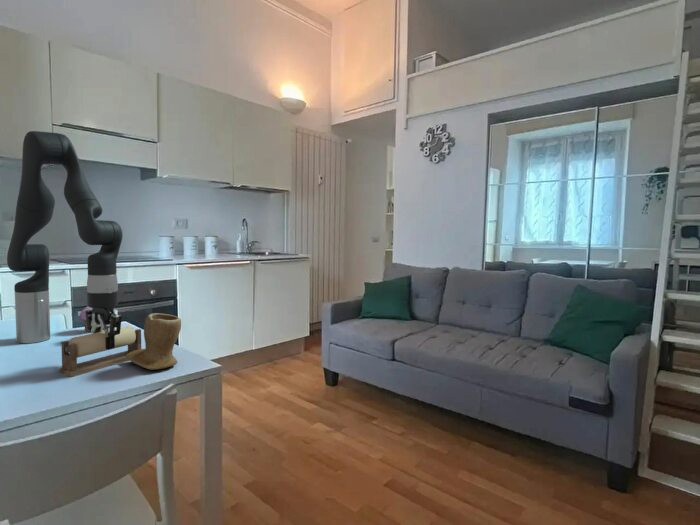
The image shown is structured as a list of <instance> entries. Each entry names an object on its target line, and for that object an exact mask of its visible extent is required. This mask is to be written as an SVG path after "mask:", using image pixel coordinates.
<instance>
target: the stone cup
mask: <svg viewBox="0 0 700 525" xmlns="http://www.w3.org/2000/svg"><path fill="white" fill-rule="evenodd" d="M143 325H144V326H143V327H144V328H143V338H144V343H145V348H141V349H139V350H135V351H132V352H130V353H128V354H127V355H126V358H127V359H129V361H130V362H132V363H133V364H135V365H137V366H140V367H141V368H143V369H144V368H145V369H146V370H162V369H166V368H170V367H173V366H175V365H177V364H178V359H177V358H176V357H175V356H174V355H173V350H174V347H175V343H176V342H177V339H178V337H179V335H180V333H181V329H182V319H181V318H180V317H179V316H176V315H173V314H167V313H158V312H155V313H149V314H148V315H147V316H146V317H145V320H144V324H143Z"/></svg>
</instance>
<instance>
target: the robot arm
mask: <svg viewBox="0 0 700 525" xmlns="http://www.w3.org/2000/svg"><path fill="white" fill-rule="evenodd" d="M21 160H22V161H21V164H22V165H21V177H20V178H21V179H20V184H19V191H18V196H17V200H16V201H17V202H16V207H15V217H14V225H13V231H12V235H11V239H10V243H9V246H8V249H7V253H6V254H7V256H6V263H7V267H8V269H9V270H10V271H12V272H34V274H33V275H32V276H30V277H29V278H26V279H24V280H20V281H18V282H16V283H15V284H14V305H15V306H14V310H15V338H16V343H18V344H33V343H39V342H43V341H44V342H45V341H48V340H50V339H51V316H50V291H49V290H50V287H49V284H50V252H49V249H48V246H47V245H45V244H42V243H41V244H39V243H31V244H30V243H28V242H29V241H30V240H31V239H32V238H33V237H34V236H35V235H36V234H37V233H39V232H40V231H41V230H43V228H45V227H46V226H47V225H48V224H49V223H50V221H51V220H52V219H53V215H54V210H55V204H56V200H55V197H54V195H53V193H52V192H51V190H50V188H49V187H48V186H47V184H46V183H45V181H44V179H43V178H42V173H41V172H42V167H43V165H61V166H62V167H64V169H65V171H66V174H67V175H66V178H65V179H66V180H65V183H64V187H63V194H64V199H65V200H66V203H67V205H68V206H69V208H70V210H71V211H72V213H73V214H74V218H75V222H76V226H77V232H78V236H79V238H80V239H81V240H82V242H84V243H85V244H87V245H89V246H100V250H99V251H98V252H96V253H92V254H90V255H88V257H87V280H86V294H87V296H86V297H87V299H86V300H87V302H86V304H87V305H86V306H87V307H90V308H92V310H86V320H87V328H88V330H91V332H90V334H93V333H98V332H101V331H102V330H104V332H105V335H106V337H105V341H106V349H107V350H106V351H110V350H114V349H116V348H115V335H118V334H120V329H121V328H122V318H123V317H122V314H120V313H119V314H117V315H116V314H115V312H114V309H115V307H116V306H118V304H119V288H118V287H119V283H118V282H119V281H118V276H117V259H118V256H119V252H120V248H121V246H122V245H121V244H122V242H123V241H122V240H123V229H122V228H121V226H120V224H119V223H118V222H117V221H114V220H101V219H99V220H98V218H100V217H101V215H102V213H103V207H102V205H101V204H100V202H99V200H98V199H97V197H96V195H95V194H94V192H93V191H92V189H91V187H90V185H89V183H88V180H87V177H86V176H85V173H84V170H83V168H82V165H81V161H80V160H79V157H78V155H77V152H76V149H75V146H74V145H73V143H72V141H71V139H69V137H68V136H67V135H66V134H64V133H58V132H50V131H40V130H39V131H37V130H31V131H28V132H27V133H26V134H25V136H24V139H23V142H22V158H21ZM91 317H92V318H91ZM106 325H109V326H106ZM115 328H116V330H115ZM108 329H110V330H109V331H108Z"/></svg>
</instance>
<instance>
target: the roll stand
mask: <svg viewBox="0 0 700 525" xmlns="http://www.w3.org/2000/svg"><path fill="white" fill-rule="evenodd" d="M134 331H135V334H136V339H135V342H134V343H133V344H130V345H127V350H124V351H121V352H120V351H119V352H116V353H114V354H109V355H105V356H102V357H99V358H94V359H89V360H87V361H82V362H79V363H78V358H77V348H76V344H75V343H72V344H69V341H67V340H63V341H61V344H60V346H61V347H60V348H61V367H60V368H59V367H58V373H59V374H61V375H64V376H68V377H69V378H72V377H76V376H79V375H84V374H87V373H91V372H93V371H97V370H101V369H104V368H107V367H112V366H115V365H118V364H122V363H125V362H129V361H130V360H129V359H127V358H126V355H127V354H128V353H130V352H132V351H135V350H139V349H142V329H140V328H139V329H134ZM67 346H69V352H66V351H65V347H67Z"/></svg>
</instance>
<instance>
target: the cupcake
mask: <svg viewBox="0 0 700 525" xmlns="http://www.w3.org/2000/svg"><path fill="white" fill-rule="evenodd" d="M86 310H92V308H90V307H88V306H86V307H84V308H83V309H82V310H81V311H80V313H79V318H80V319H81V320H83V323H84V330H85V331H86V332H88V331H91V330H88V328H87V320H86ZM91 318H92V317H91Z"/></svg>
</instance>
